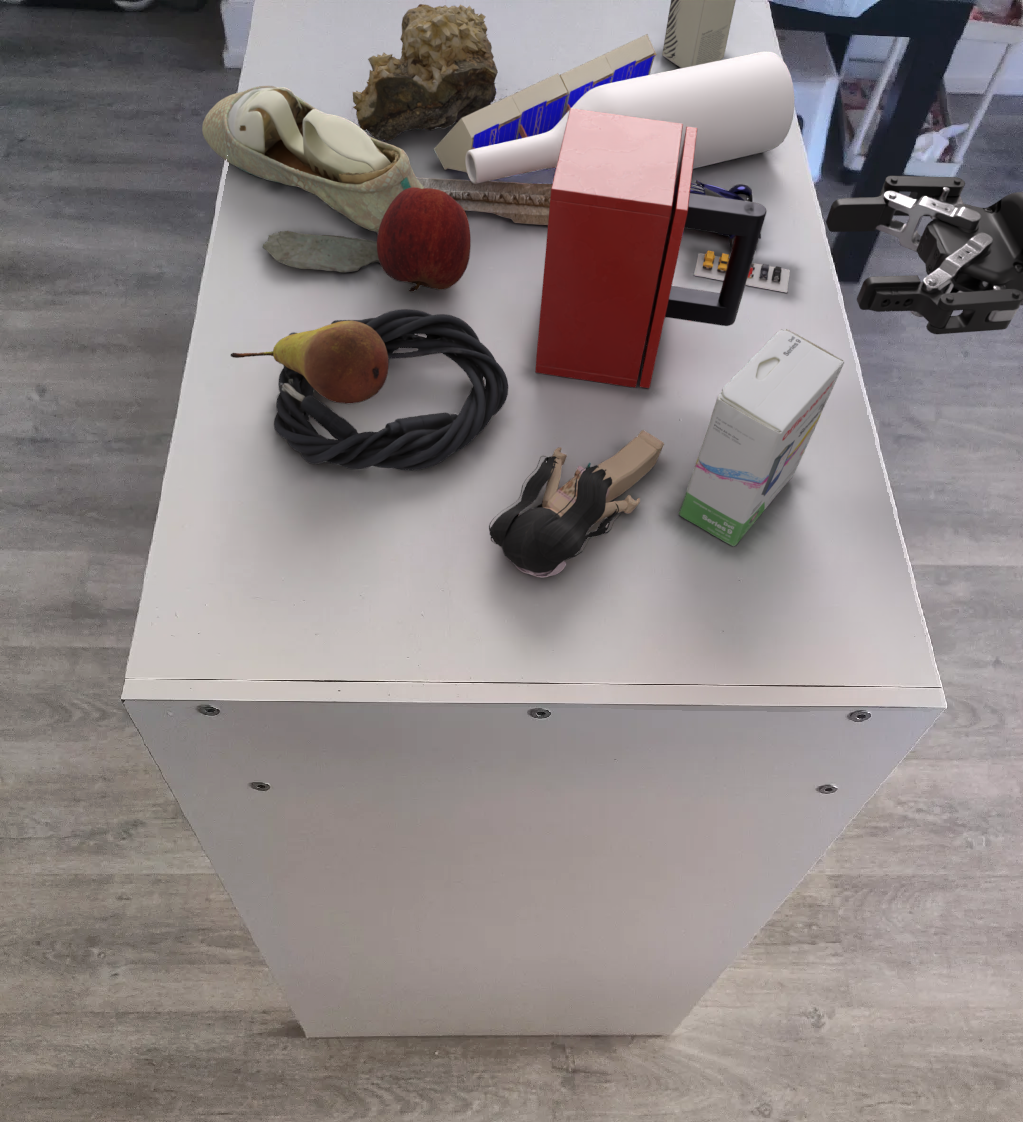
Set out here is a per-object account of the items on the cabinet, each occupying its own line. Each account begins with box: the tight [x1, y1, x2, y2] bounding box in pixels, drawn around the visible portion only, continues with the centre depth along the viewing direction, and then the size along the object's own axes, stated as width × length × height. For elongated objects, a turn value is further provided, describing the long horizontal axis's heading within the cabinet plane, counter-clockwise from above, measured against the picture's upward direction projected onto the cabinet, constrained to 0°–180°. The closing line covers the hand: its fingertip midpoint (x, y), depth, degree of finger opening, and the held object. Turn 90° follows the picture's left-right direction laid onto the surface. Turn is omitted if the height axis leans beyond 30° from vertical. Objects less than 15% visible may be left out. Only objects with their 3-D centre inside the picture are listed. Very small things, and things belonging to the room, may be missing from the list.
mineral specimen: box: [352, 3, 499, 142], centre depth 93 cm, size 14×13×10 cm
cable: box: [273, 308, 509, 472], centre depth 75 cm, size 17×14×4 cm
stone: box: [262, 230, 380, 273], centre depth 85 cm, size 11×2×5 cm
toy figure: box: [488, 429, 665, 578], centre depth 70 cm, size 7×6×15 cm
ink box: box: [678, 328, 845, 547], centre depth 69 cm, size 9×5×12 cm, turn 143°
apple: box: [376, 187, 472, 293], centre depth 81 cm, size 7×8×8 cm
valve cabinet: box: [534, 108, 683, 388], centre depth 76 cm, size 8×10×16 cm
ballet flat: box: [201, 85, 424, 234], centre depth 87 cm, size 8×25×8 cm, turn 56°
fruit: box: [230, 321, 389, 405], centre depth 72 cm, size 6×6×12 cm
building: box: [433, 33, 658, 173], centre depth 94 cm, size 23×6×4 cm
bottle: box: [465, 51, 795, 184], centre depth 90 cm, size 8×8×30 cm
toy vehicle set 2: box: [693, 250, 791, 294], centre depth 87 cm, size 3×8×1 cm, turn 77°
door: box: [639, 126, 767, 389], centre depth 75 cm, size 6×10×15 cm, turn 171°
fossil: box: [416, 177, 552, 226], centre depth 90 cm, size 18×3×4 cm
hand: (845, 253), depth 72 cm, fingers open, 8 cm apart
